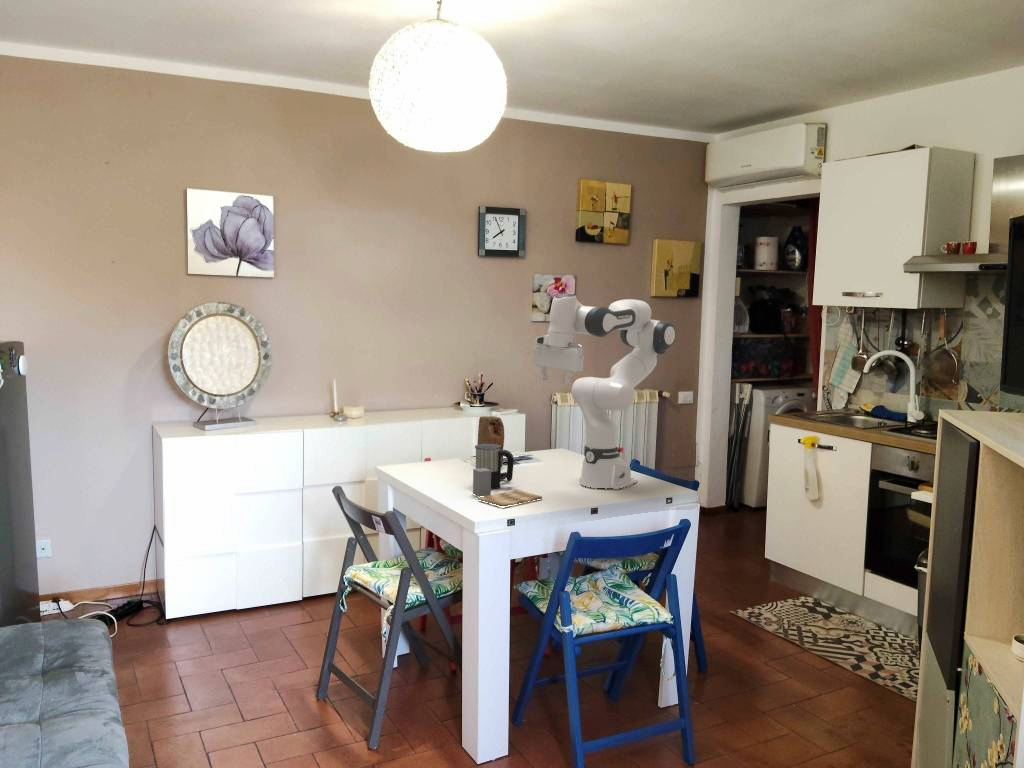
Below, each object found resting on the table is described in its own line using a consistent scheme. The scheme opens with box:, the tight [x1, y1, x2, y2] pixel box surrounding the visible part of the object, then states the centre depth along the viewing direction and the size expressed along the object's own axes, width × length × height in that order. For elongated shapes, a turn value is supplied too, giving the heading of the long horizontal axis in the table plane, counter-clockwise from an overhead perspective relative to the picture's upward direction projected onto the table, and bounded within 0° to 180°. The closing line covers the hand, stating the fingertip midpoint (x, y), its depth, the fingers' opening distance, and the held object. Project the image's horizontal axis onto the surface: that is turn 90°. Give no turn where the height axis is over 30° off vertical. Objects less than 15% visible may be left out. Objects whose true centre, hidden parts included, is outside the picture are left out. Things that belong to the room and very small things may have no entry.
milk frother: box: [474, 444, 515, 490], centre depth 295 cm, size 14×16×15 cm
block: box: [477, 415, 505, 468], centre depth 325 cm, size 11×8×20 cm
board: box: [477, 489, 543, 506], centre depth 273 cm, size 18×12×1 cm, turn 134°
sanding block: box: [472, 468, 492, 497], centre depth 279 cm, size 4×4×9 cm
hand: (555, 382), depth 278 cm, fingers open, 8 cm apart
